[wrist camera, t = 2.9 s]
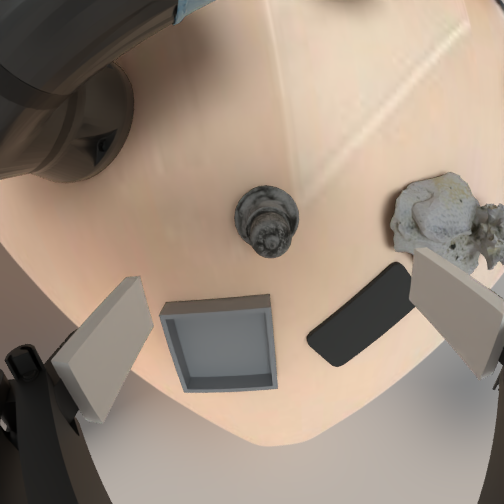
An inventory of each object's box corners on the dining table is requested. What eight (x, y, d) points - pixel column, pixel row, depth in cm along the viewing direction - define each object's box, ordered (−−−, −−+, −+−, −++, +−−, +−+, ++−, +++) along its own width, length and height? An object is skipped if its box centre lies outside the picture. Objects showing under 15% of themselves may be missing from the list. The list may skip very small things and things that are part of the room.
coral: (493, 217, 29) (541, 238, 20) (445, 297, 33) (485, 335, 24) (419, 136, 27) (475, 136, 17) (361, 235, 30) (401, 268, 21)
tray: (188, 377, 37) (184, 392, 34) (166, 302, 33) (159, 315, 30) (276, 373, 36) (277, 388, 34) (269, 294, 33) (270, 307, 30)
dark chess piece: (230, 190, 29) (214, 213, 18) (286, 176, 28) (308, 190, 17) (244, 244, 31) (239, 297, 19) (299, 231, 30) (325, 277, 19)
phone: (303, 340, 34) (399, 259, 30) (302, 336, 35) (396, 257, 31) (337, 369, 35) (425, 298, 32) (335, 365, 36) (422, 295, 33)
